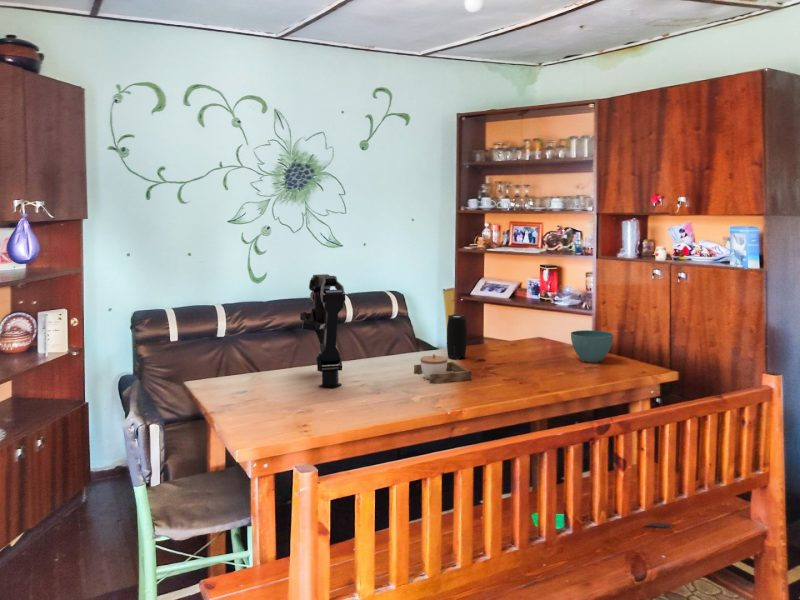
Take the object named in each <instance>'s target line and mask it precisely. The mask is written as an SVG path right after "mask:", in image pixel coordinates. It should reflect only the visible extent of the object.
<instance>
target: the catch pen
mask: <svg viewBox="0 0 800 600" xmlns="http://www.w3.org/2000/svg"><path fill="white" fill-rule="evenodd" d="M452 371H453V372H452ZM414 373H415V375H418V374H419V373H421V374H423V372H422V370H421V364H413V374H414ZM462 380H468V381H472V370H469V369H467V368H465V367H463V366H462V365H459V364H458V363H456V362H454V361H449V362H448V361H447V369H446V372H445V373H437V374H430V379H429V384H430V383H433V384H442V383H441V382H444V383H452V382H451V381H456V382H463V381H462Z"/></svg>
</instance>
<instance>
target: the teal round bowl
mask: <svg viewBox="0 0 800 600" xmlns="http://www.w3.org/2000/svg"><path fill="white" fill-rule="evenodd" d="M570 340H571V344H572V348H573V350H574V352H575V353H576V355H577V356H578V358H579V359H580V360H581V361H582V362H584V361H587V362H586V363H600V362H599V361H601V362H602V361H603V360H604V359H605V357H606V356H607V355H608V354H609V352H610V350H611V347H612V344H613V341H614V333H612V332H608V331H602V330H591V329H590V330H586V329H585V330H583V329H582V330H575V331H572V332H570Z"/></svg>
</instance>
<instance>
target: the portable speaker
mask: <svg viewBox="0 0 800 600" xmlns="http://www.w3.org/2000/svg"><path fill="white" fill-rule="evenodd" d="M467 328H468V326H467V317H466V315H464V314H460V313H454V314H451V315H450V314H448V318H447V326H446V353H447V356H448V358H450V359H451V360H455V361H456V359H459V360H460V358H463V359H466V353H467V343H468V341H467V340H468V339H467V336H468V334H467V333H468V331H467V330H468V329H467Z"/></svg>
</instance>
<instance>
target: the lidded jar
mask: <svg viewBox="0 0 800 600" xmlns="http://www.w3.org/2000/svg"><path fill="white" fill-rule="evenodd" d="M447 362H448V358H447V357H445V356H441V355H436V354H435V353H434V354H432V355H427V356H422V357H421V358H420V365H421V370H422V372H423V373H422V374H423V376H425V378H426V379H428V378H429V380H430V374H437V373H447V371H446V369H447Z"/></svg>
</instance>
